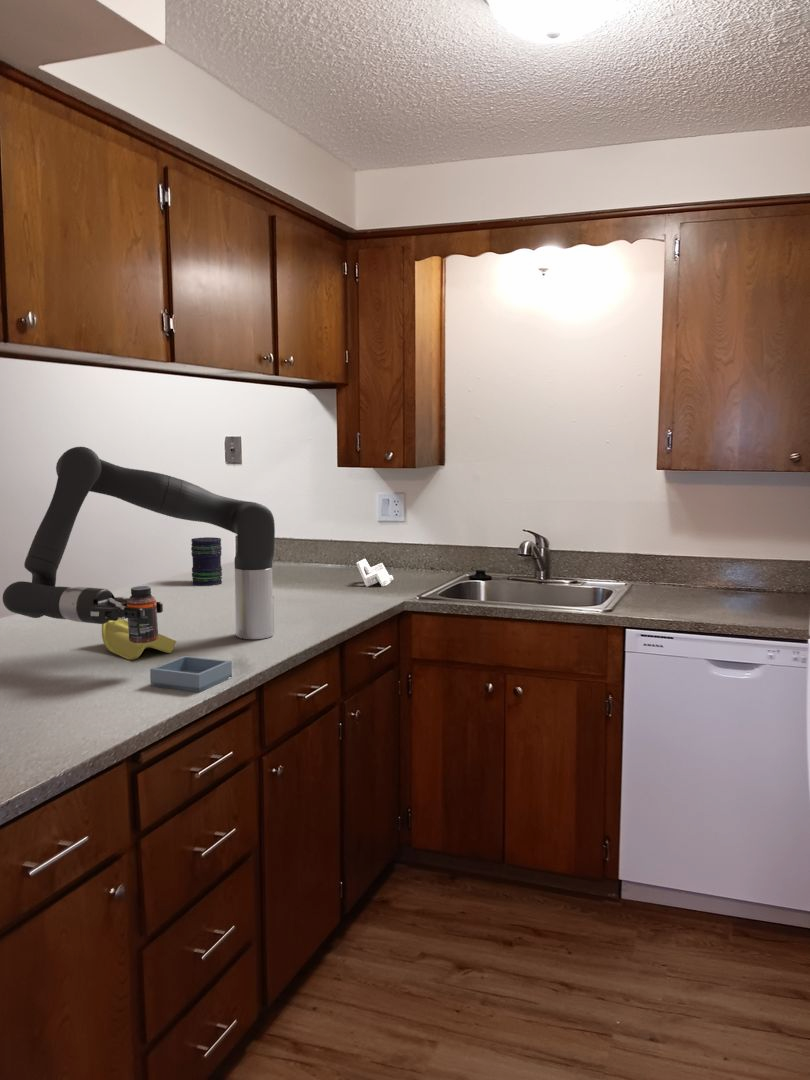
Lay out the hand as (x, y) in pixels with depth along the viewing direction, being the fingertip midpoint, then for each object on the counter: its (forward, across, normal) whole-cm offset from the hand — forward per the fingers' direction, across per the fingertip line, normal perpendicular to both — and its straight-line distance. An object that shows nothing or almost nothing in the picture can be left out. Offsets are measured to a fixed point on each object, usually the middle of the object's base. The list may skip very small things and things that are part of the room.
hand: (151, 610), depth 189 cm
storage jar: (-55, +101, +15) cm, 115 cm away
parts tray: (+10, -1, +14) cm, 17 cm away
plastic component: (-18, +17, +14) cm, 28 cm away
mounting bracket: (-3, +122, +16) cm, 123 cm away
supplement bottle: (-2, 0, +7) cm, 7 cm away
